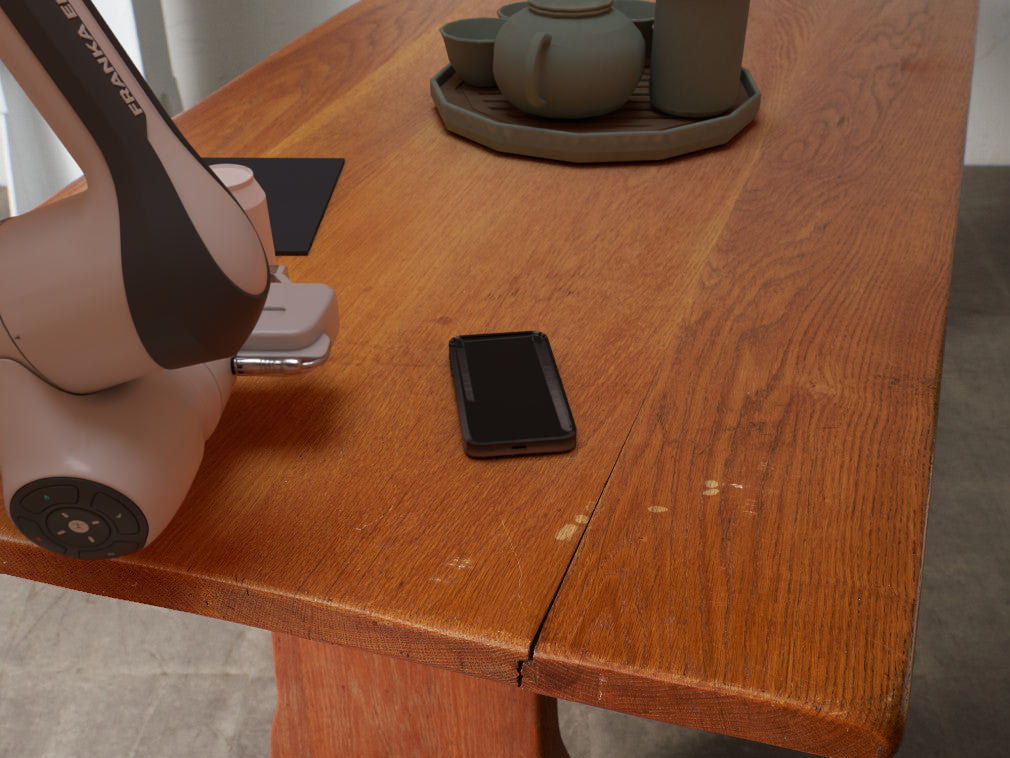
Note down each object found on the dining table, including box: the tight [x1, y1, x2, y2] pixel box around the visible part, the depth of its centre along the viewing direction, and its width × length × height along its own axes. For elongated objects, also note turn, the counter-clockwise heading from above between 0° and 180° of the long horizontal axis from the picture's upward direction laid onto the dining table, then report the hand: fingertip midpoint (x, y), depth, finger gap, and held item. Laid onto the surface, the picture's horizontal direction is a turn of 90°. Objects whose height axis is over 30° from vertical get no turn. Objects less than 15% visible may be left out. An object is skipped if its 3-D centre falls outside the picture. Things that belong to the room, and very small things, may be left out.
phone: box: [448, 330, 578, 459], centre depth 74 cm, size 8×1×15 cm
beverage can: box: [209, 164, 278, 265], centre depth 80 cm, size 6×6×12 cm
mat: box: [200, 156, 346, 256], centre depth 102 cm, size 18×24×1 cm
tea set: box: [429, 0, 762, 164], centre depth 120 cm, size 40×40×16 cm
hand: (216, 273), depth 76 cm, fingers open, 8 cm apart
